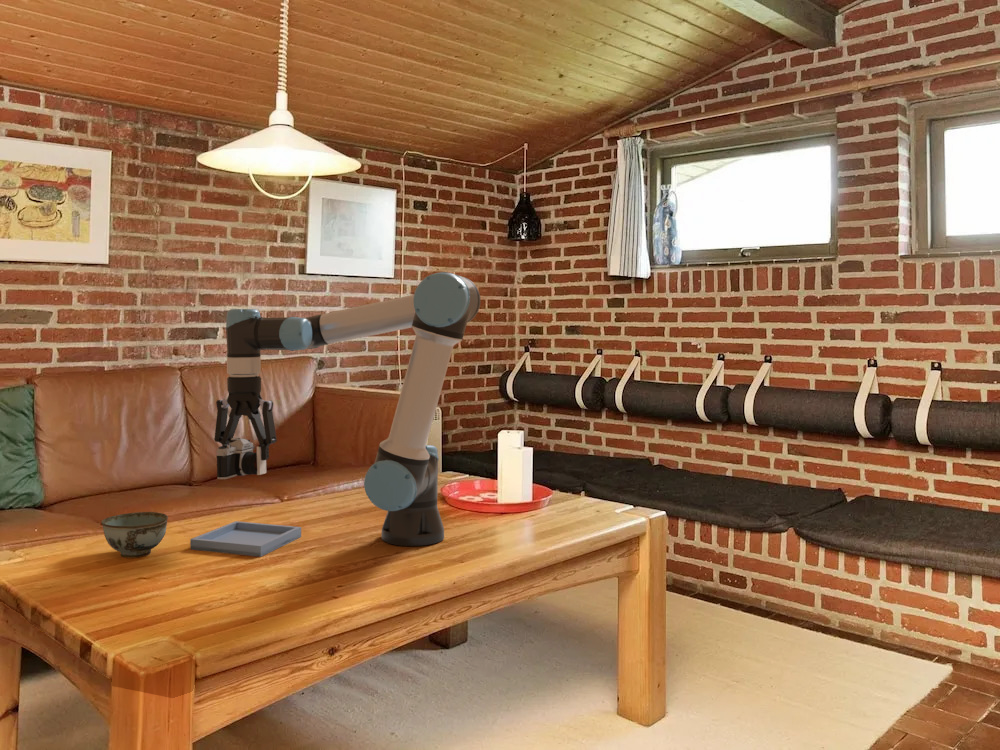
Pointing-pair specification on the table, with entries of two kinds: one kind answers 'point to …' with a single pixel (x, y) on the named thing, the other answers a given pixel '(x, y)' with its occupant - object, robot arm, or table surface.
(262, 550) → the tray
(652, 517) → the table surface
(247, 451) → the camera
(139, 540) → the bowl
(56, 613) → the table surface
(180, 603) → the table surface
